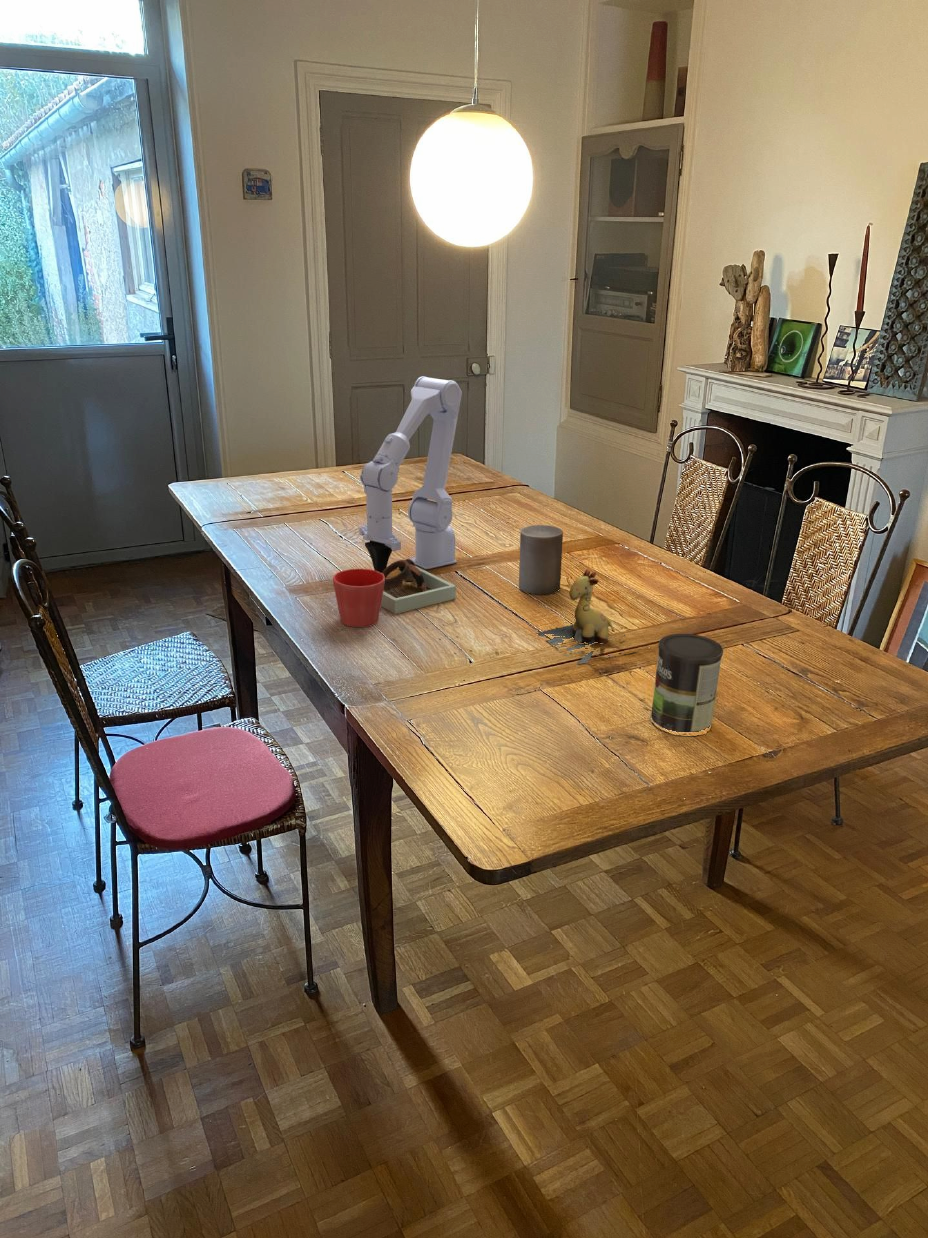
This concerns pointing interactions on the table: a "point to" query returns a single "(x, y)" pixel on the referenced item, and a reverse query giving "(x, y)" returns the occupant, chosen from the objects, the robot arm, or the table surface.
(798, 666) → the table surface
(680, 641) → the coffee can
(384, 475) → the robot arm
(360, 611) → the flower pot
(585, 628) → the stuffed giraffe
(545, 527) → the pillar candle
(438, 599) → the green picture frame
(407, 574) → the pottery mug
